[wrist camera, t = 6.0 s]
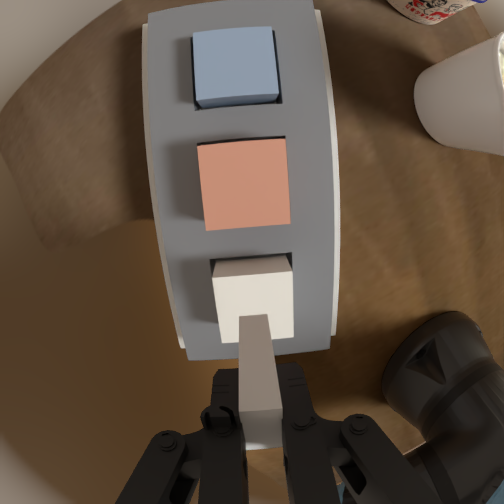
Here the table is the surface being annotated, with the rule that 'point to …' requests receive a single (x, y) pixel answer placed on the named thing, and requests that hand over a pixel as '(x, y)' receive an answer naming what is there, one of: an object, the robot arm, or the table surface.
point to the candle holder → (465, 98)
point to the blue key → (235, 67)
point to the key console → (235, 130)
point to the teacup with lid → (431, 9)
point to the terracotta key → (244, 184)
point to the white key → (254, 295)
